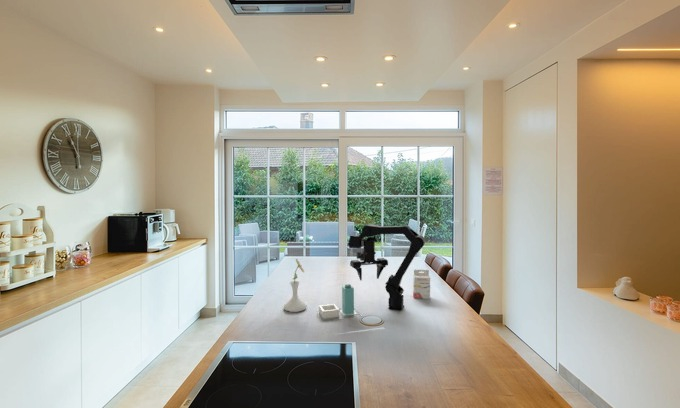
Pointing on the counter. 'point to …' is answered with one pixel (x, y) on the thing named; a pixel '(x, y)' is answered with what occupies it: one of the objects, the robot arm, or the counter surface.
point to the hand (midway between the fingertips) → (369, 279)
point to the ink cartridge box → (421, 284)
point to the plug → (347, 299)
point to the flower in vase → (295, 296)
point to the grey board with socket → (334, 313)
